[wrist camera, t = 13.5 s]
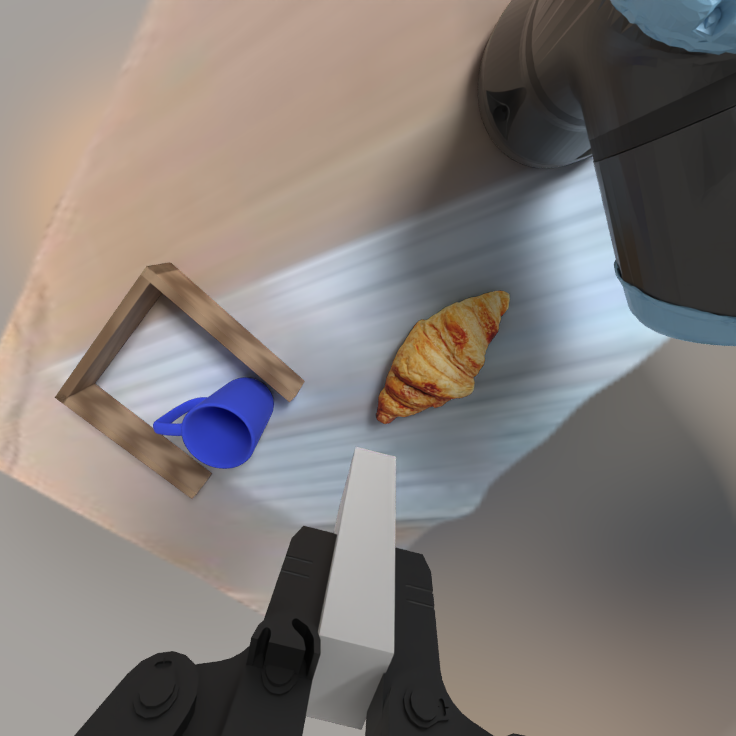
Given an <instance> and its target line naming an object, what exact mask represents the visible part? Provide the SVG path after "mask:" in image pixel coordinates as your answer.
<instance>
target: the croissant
mask: <svg viewBox="0 0 736 736" xmlns="http://www.w3.org/2000/svg"><path fill="white" fill-rule="evenodd" d="M509 301H510V294H508V293H507V292H505V291H494V292H489V293H485V294H483V295H480V296H477V297H471V298H467V299H465V300H463V301H461V302H456V303H454V304H452V305H450V306H447V307H445V308H443V309H442V310H441V311H440V312H438V313H437V314H435V315H433V316H431V317H430V318H429V319H427V320H426V321H425V320H420V321H418V322H417V323H416V325H415V326H414V327H413V329H412V330H411V332H410V333H409V335H408V336H407V338H406V340H405V342H404V343H403V345H402V346H401V347H400V348H399V350H398V352H397V354H396V356H395V358H394V361H393V363H392V366H391V369H390V371H389V373H388V376H387V379H386V383H385V387H384V388H383V390H382V391H381V392H380V395H379V397H378V409H377V413H376V418H377V420H378V421H380V422H382V423H383V424H387V423H388V424H389V423H391V422H392V421H393V420H394V419H395V418H396V417H399V416H401V417H407V416H409V415H414V414H416V413H418V412H422V410H425V409H427V408H429V407H434V408H436V407H439V406H443V405H444V404H445V403H446V402H448V401H450V400H451V399H455V398H462V397H465V396H468V395H470V394H471V393H472V392H473V390H474V384H475V382H474V379H473V378H474V377H475V376H476V375H477V374H478V373H479V370H480V369H481V368H482V366H483V365H484V362H485V357H484V355H485V354H486V349H487V347H488V345H489V343H490V342H491V341H492V339H493V338H494V337H495V335H496V334H497V333H498V330H499V323H500V321H501V316H502V315H503V314H504V313H505V312H506V310H508V308H509Z"/></svg>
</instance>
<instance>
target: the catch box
mask: <svg viewBox="0 0 736 736" xmlns="http://www.w3.org/2000/svg"><path fill="white" fill-rule="evenodd" d="M161 293H163V294H164V295H165V296H167V297H168V298H169V299H170V300H171V301H172V302H174V303H175V304H176V305H177V306H178V307H179V308H181V309H182V310H183V311H184V312H185V313H186V314H187V315H189V316H190V317H191V318H192V319H193V320H194V321H196V322H197V323H198V324H199V325H200V326H201V327H203V328H204V329H205V330H206V331H207V332H208V333H210V334H211V335H212V336H213V337H214V338H215V339H217V340H218V341H219V342H220V343H221V344H222V345H224V346H225V347H226V348H227V349H228V350H229V351H231V352H232V353H233V354H234V355H235V356H236V357H237V358H239V359H240V360H241V361H242V362H243V363H244V364H246V365H247V366H248V367H249V368H250V369H251V370H253V371H254V372H255V373H256V374H257V375H258V376H260V377H261V378H262V379H263V380H264V381H265V382H267V383H268V384H269V385H270V386H271V387H272V388H274V389H275V390H276V391H277V392H278V393H279V394H281V395H282V396H283V397H284V398H285V399H286V400H288V401H289V402H290V401H291V400H292V399H293V398H294V397H295V396H296V395H297V393H298V391H299V390H300V388H301V386H302V385H303V383H304V380H303V379H302V378H301V377H299V376H298V375H297V374H296V373H295V372H294V371H293V370H292V369H290V368H289V367H288V366H287V365H286V364H285V363H284V362H282V361H281V360H280V359H279V358H278V357H277V356H276V355H275V354H273V353H272V352H271V351H270V350H269V349H268V348H267V347H266V346H264V345H263V344H262V343H261V342H260V341H259V340H258V339H256V338H255V337H254V336H253V335H252V334H251V333H250V332H249V331H247V330H246V329H245V328H244V327H243V326H242V325H241V324H240V323H238V322H237V321H236V320H235V319H234V318H233V317H232V316H230V315H229V314H228V313H227V312H226V311H225V310H224V309H223V308H221V307H220V306H219V305H218V304H217V303H216V302H215V301H214V300H212V299H211V298H210V297H209V296H208V295H207V294H206V293H204V292H203V291H202V290H201V289H200V288H199V287H198V286H197V285H195V284H194V283H193V282H192V281H191V280H190V279H189V278H188V277H186V276H185V275H184V274H183V273H182V272H181V271H180V270H178V269H177V268H176V267H175V266H174V265H173V264H172V263H164V264H158V265H151V266H146V268H145V269H144V271H143V272H142V274H141V275H140V276H139V278H138V279H137V281H136V282H135V284H134V285H133V286H132V288H131V289H130V291H129V292H128V294H127V295H126V296H125V298H124V299H123V301H122V302H121V304H120V305H119V306H118V308H117V309H116V311H115V312H114V314H113V315H112V316H111V318H110V319H109V321H108V322H107V324H106V325H105V326H104V328H103V329H102V331H101V332H100V334H99V335H98V336H97V338H96V339H95V341H94V342H93V344H92V345H91V346H90V348H89V349H88V351H87V352H86V354H85V355H84V357H83V358H82V359H81V361H80V362H79V364H78V365H77V367H76V368H75V369H74V371H73V372H72V374H71V375H70V377H69V378H68V379H67V381H66V382H65V384H64V385H63V387H62V388H61V389H60V391H59V392H58V394H57V395H56V397H55V398H56V399H57V400H59V401H60V402H62V403H63V404H64V405H66V406H67V407H68V408H70V409H71V410H72V411H74V412H75V413H76V414H78V415H79V416H80V417H82V418H83V419H85V420H86V421H87V422H89V423H90V424H91V425H93V426H94V427H95V428H97V429H98V430H99V431H101V432H102V433H103V434H105V435H106V436H108V437H109V438H110V439H112V440H113V441H114V442H116V443H117V444H118V445H120V446H121V447H122V448H124V449H125V450H126V451H128V452H129V453H131V454H132V455H133V456H135V457H136V458H137V459H139V460H140V461H141V462H143V463H144V464H145V465H147V466H148V467H149V468H151V469H152V470H154V471H155V472H156V473H158V474H159V475H160V476H162V477H163V478H164V479H166V480H167V481H168V482H170V483H171V484H172V485H174V486H175V487H177V488H178V489H179V490H181V491H182V492H183V493H185V494H186V495H187V496H189V497H190V498H191V499H192V498H193V497H194V496H195V495H196V494H197V493H198V492H199V490H200V489H201V488H202V486H203V485H204V484H205V482H206V481H207V480H208V478H209V477H210V476H211V474H212V473H211V472H210V471H208V470H207V469H206V468H204V467H203V466H202V465H200V464H199V463H198V462H197V461H195V460H194V459H193V458H191V457H190V456H189V455H187V454H186V453H185V452H183V451H182V450H181V449H180V448H178V447H177V446H176V445H174V444H173V443H172V442H170V441H169V440H168V439H167V438H165V437H164V436H163V435H161V434H157V433H155V432H154V429H153V428H152V427H151V426H150V425H148V424H147V423H146V422H144V421H143V420H142V419H140V418H139V417H138V416H137V415H135V414H134V413H133V412H131V411H130V410H129V409H127V408H126V407H125V406H123V405H122V404H121V403H120V402H118V401H117V400H116V399H114V398H113V397H112V396H110V395H109V394H108V393H107V392H105V391H104V390H103V389H101V388H100V387H99V386H97V385H96V384H95V383H96V381H97V380H98V379H99V377H100V376H101V375H102V373H103V372H104V371H105V369H106V368H107V367H108V365H109V364H110V362H111V361H112V360H113V358H114V357H115V356H116V354H117V353H118V352H119V350H120V349H121V348H122V346H123V345H124V344H125V342H126V341H127V339H128V338H129V337H130V335H131V334H132V333H133V331H134V330H135V329H136V327H137V326H138V325H139V323H140V322H141V320H142V319H143V318H144V316H145V315H146V314H147V312H148V311H149V310H150V308H151V307H152V306H153V304H154V303H155V301H156V300H157V299H158V297H159V296H160V295H161Z"/></svg>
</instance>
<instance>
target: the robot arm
mask: <svg viewBox="0 0 736 736" xmlns="http://www.w3.org/2000/svg"><path fill="white" fill-rule="evenodd" d="M478 101H479V108H480V113H481V117H482V120H483V123H484V125H485V128H486V130H487V132H488V134H489V136H490V137H491V139H492V140H493V142H494V143H495V144H496V146H497V147H498V148H499V149H500V150H501V151H502V152H503V153H504V154H506V155H507V156H508V157H510V158H511V159H513V160H515V161H517V162H519V163H521V164H524V165H527V166H530V167H536V168H556V167H561V166H565V165H569V164H572V163H575V162H577V161H580V160H583V159H585V158H587V157H589V156H591V155H593V160H594V161H593V163H594V167H595V171H596V176H597V180H598V184H599V189H600V193H601V197H602V202H603V206H604V210H605V215H606V219H607V223H608V228H609V232H610V236H611V241H612V245H613V249H614V254H615V258H616V260H615V262H614V268H615V273H616V276H617V278H618V279H619V281H620V282H621V284H622V286H623V289H624V293H625V296H626V300H627V303H628V306H629V309H630V310H631V312H632V313H633V314H634V315H635V316H636V317H637V319H638V320H639V321H640V322H641V323H643V324H644V325H645V326H646V327H648V328H650V329H652V330H654V331H655V332H658V333H660V334H663V335H666V336H669V337H672V338H675V339H680V340H684V341H689V342H695V343H701V344H710V345H722V346H736V0H512V1H511V2H510V3H509V4H508V6H507V7H506V9H505V10H504V12H503V13H502V15H501V17H500V18H499V20H498V22H497V24H496V26H495V28H494V30H493V32H492V34H491V36H490V38H489V41H488V43H487V45H486V48H485V51H484V54H483V57H482V61H481V65H480V70H479V78H478ZM395 513H396V457H394V456H390V455H386V454H382V453H379V452H375V451H371V450H367V449H363V448H359V447H356V448H355V451H354V455H353V458H352V462H351V466H350V469H349V473H348V477H347V480H346V484H345V487H344V491H343V495H342V498H341V502H340V506H339V510H338V515H337V520H336V525H335V529H334V533H330V532H326V531H322V530H318V529H314V528H310V527H307V526H303V527H302V528H301V529H300V530H299V531H298V532H297V533H296V534H295V535H294V536H293V537H292V539H291V542H290V545H289V548H288V551H287V554H286V557H285V560H284V562H283V565H282V568H281V572H280V574H279V577H278V580H277V583H276V586H275V589H274V592H273V595H272V598H271V601H270V603H269V606H268V609H267V612H266V615H265V618H264V621H262V622H261V623H260V624H259V625H258V627H257V629H256V630H255V632H254V634H253V636H252V637H251V642H250V646H249V647H248V648H246V649H245V650H244V651H243V652H242V653H240V654H238V655H236V656H234V657H232V658H230V659H226V660H222V661H217V662H210V663H203V664H197V665H195V664H194V663H193V662H192V661H191V660H190V659H189V658H188V657H187V656H186V655H184V654H180V653H177V652H173V651H171V652H163V653H157V654H155V655H153V656H151V657H149V658H147V659H145V660H143V661H141V662H140V663H139V664H138V665H137V666H136V667H135V668H134V669H132V670H131V671H130V672H129V673H128V674H127V675H126V676H125V678H124V679H123V680H122V681H121V682H120V683H119V684H118V686H117V687H116V688H115V689H114V690H113V691H112V693H111V694H110V695H109V696H108V697H107V698H106V700H105V701H104V702H103V703H102V704H101V705H100V706H99V708H98V709H97V710H96V711H95V712H94V714H93V715H92V716H91V717H90V718H89V719H88V720H87V722H86V723H85V724H84V725H83V726H82V728H81V729H80V730H79V731H78V732H77V733H76V735H75V736H302V734H303V728H304V723H305V718H306V716H307V717H311V718H315V719H319V720H324V721H328V722H332V723H336V724H340V725H345V726H348V727H353V728H357V729H362V727H363V725H364V722H365V720H366V732H365V736H493V735H492V734H490V733H488V732H487V731H486V730H484V729H483V728H481V727H479V726H478V725H477V724H475V723H473V722H472V721H471V720H470V719H468V718H467V717H466V716H465V715H464V714H462V713H461V711H460V710H459V709H458V708H457V707H456V706H455V704H454V703H453V702H452V700H451V698H450V697H449V695H448V693H447V691H446V689H445V686H444V683H443V681H442V676H441V671H440V661H439V651H438V640H437V630H436V619H435V610H434V598H433V594H432V591H433V587H432V577H431V571H430V569H429V567H428V565H427V563H426V561H425V558H424V556H423V555H422V554H419V553H414V552H410V551H407V550H403V549H399V548H395ZM508 736H524V735H519V734H511V735H508Z"/></svg>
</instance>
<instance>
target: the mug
mask: <svg viewBox="0 0 736 736" xmlns="http://www.w3.org/2000/svg"><path fill="white" fill-rule="evenodd" d="M273 406H274V402H273V397H272V394H271V392H270V390H269V389H268V388H267V387H266V386H265V385H264V384H263V383H262V382H260V381H258V380H256V379H253V378H238V379H235V380H233V381H231V382H229V383H228V384H226V385H225V386H223V387H222V388H221V389H219V390H218V391H216V392H215V393H213V394H212V395H211V396H209V397H201V398H195V399H192V400H189V401H187V402H185V403H183V404H181V405H179V406H177V407H176V408H174V409H172V410H171V411H169V412H168V413H166V414H165V415H163V416H162V417H160V418H159V419H158V420H156V421H155V422H154V424H153V428H154V432H155V433H157V434H161V435H171V436H182V438H183V441H184V444H185V446H186V447H187V449H188V450H189V452H190V453H191V454H192V455H193V456H194V457H195V458H197V459H198V460H199V461H201V462H203V463H204V464H206V465H209V466H212V467H215V468H222V469H227V468H234V467H237V466H239V465H241V464H243V463H245V462H246V461H247V460H248V459H249V458H250V457H251V455H252V453H253V451H254V449H255V447H256V445H257V443H258V441H259V439H260V437H261V435H262V433H263V431H264V429H265V427H266V425H267V423H268V421H269V419H270V417H271V414H272V412H273ZM187 412H188V413H187ZM185 413H187V414H186V415H185V417H184V419H183V422H182V423H181V424H172V422H173V421H175V420H176V419H177V418H179V417H180V416H182V415H183V414H185Z"/></svg>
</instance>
